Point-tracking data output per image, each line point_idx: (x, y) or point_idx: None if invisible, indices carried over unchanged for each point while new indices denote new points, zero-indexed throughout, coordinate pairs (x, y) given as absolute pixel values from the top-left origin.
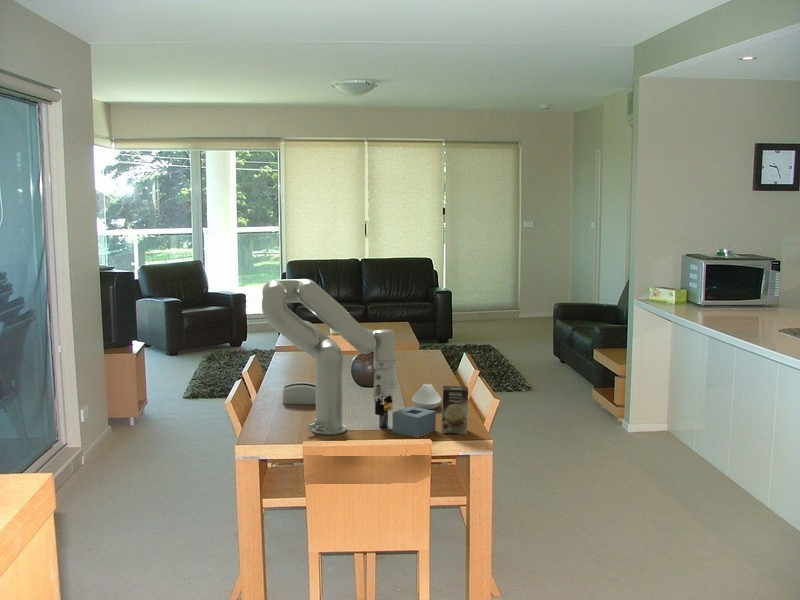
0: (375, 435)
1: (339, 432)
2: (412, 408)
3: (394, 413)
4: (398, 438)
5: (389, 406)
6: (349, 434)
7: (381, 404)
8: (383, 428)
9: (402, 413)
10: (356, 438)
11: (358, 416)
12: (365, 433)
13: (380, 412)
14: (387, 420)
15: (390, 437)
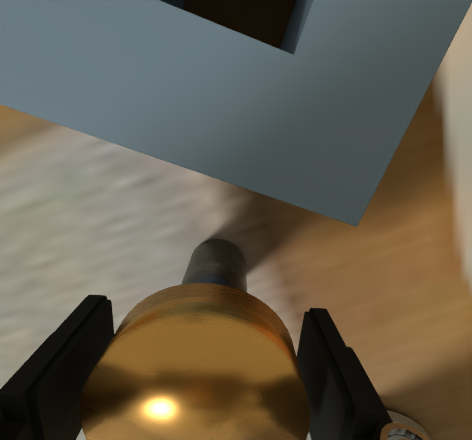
0: (392, 255)
1: (409, 421)
2: (39, 1)
3: (365, 196)
4: (436, 91)
5: (250, 324)
6: (398, 375)
7: (419, 436)
8: (243, 257)
9: (392, 70)
10: (465, 326)
11: (79, 432)
12: (364, 315)
13: (347, 347)
14: (219, 262)
15: (420, 155)
